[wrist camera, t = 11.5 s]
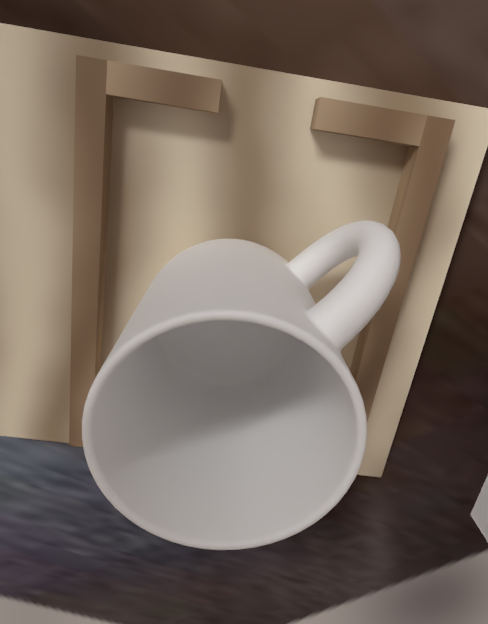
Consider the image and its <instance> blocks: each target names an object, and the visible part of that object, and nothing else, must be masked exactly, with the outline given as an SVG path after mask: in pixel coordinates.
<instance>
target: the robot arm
mask: <svg viewBox="0 0 488 624" xmlns="http://www.w3.org/2000/svg"><path fill="white" fill-rule="evenodd" d="M470 515H471V517H472V518H473V520H474V521H475V523H476V524H477V526H478V528H479V529H480V531H481V532H482V534H483V535H484V537H485V539H486V540H487V542H488V476H487V478H486V480H485V482H484V485H483V487H482V489H481V492H480V494H479V496H478V498H477V501H476V503H475V505H474V507H473V510H472V512H471V514H470Z"/></svg>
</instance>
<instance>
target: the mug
mask: <svg viewBox="0 0 488 624" xmlns="http://www.w3.org/2000/svg"><path fill="white" fill-rule="evenodd" d="M355 256H358V257H357V259H356V261H355V263H354V264H353V266H352V267H351V269H350V270H349V272H348V273H347V274H346V275H345V277H344V278H343V279H342V280H341V281H340V282H339V283H338V284H337V285H336V287H335V288H334V289H333V290H331V291H330V292H329V293H328V294H327V295H326V296H325V297H324V298H323V299H321V300H320V301H319V302H318V303H317V304H316V303H315V301H314V299H313V298H312V296H311V294H310V292H309V289H310V288H311V287H312V286H313V285H314V284H315V283H316V282H317V281H318V280H320V279H321V278H322V277H323V276H324V275H326V274H327V273H328V272H329V271H331V270H332V269H333V268H335V267H336V266H338V265H339V264H341V263H342V262H344V261H346V260H348V259H350V258H352V257H355ZM400 261H401V254H400V245H399V242H398V240H397V238H396V237H395V235H394V233H393V231H392V230H390V229H389V228H388V227H386V226H385V225H384V224H382V223H379V222H375V221H370V220H362V221H358V222H353V223H349V224H346V225H343V226H341V227H339V228H337V229H335V230H333V231H331V232H329V233H328V234H326V235H324V236H323V237H321V238H320V239H318V240H317V241H316V242H314V243H313V244H311V245H310V246H309V247H307V248H306V249H305V250H304V251H302V252H301V253H300V254H299V255H297V256H296V257H295V258H294V259H292V260H291V261H290V262H288V261H287V260H285V259H284V258H283V257H281V256H280V255H278V254H277V253H276V252H274V251H272V250H270V249H268V248H267V247H265V246H262V245H260V244H257V243H254V242H250V241H247V240H241V239H216V240H210V241H206V242H202V243H199V244H197V245H194V246H192V247H190V248H187V249H186V250H184V251H182V252H181V253H179V254H178V255H176V256H175V257H174V258H172V259H171V260H170V261H169V262H168V263H167V264H166V265H165V266H164V267H163V268H162V269H161V270H160V271H159V273H158V274H157V276H156V277H155V278H154V280H153V281H152V283H151V284H150V286H149V288H148V289H147V291H146V293H145V294H144V296H143V298H142V299H141V301H140V303H139V305H138V306H137V308H136V310H135V311H134V313H133V315H132V316H131V318H130V320H129V322H128V323H127V325H126V327H125V328H124V330H123V332H122V333H121V335H120V337H119V339H118V340H117V342H116V344H115V345H114V347H113V349H112V350H111V352H110V354H109V355H108V357H107V359H106V361H105V362H104V364H103V366H102V367H101V369H100V371H99V372H98V374H97V376H96V378H95V380H94V382H93V384H92V386H91V388H90V390H89V393H88V396H87V399H86V402H85V405H84V411H83V418H82V441H83V447H84V454H85V457H86V460H87V463H88V467H89V470H90V472H91V474H92V476H93V478H94V480H95V482H96V484H97V485H98V487H99V488H100V490H101V491H102V492H103V494H104V495H105V497H106V498H107V499H108V500H109V501H110V502H111V503H112V505H113V506H114V507H115V508H116V509H117V510H118V511H120V512H121V513H122V514H123V515H124V516H125V517H126V518H128V519H129V520H130V521H132V522H133V523H135V524H136V525H138V526H139V527H141V528H143V529H144V530H146V531H148V532H150V533H152V534H154V535H156V536H158V537H161V538H163V539H166V540H168V541H171V542H175V543H178V544H182V545H185V546H190V547H196V548H201V549H212V550H238V549H246V548H254V547H258V546H263V545H267V544H271V543H274V542H277V541H280V540H283V539H286V538H288V537H290V536H292V535H294V534H297V533H299V532H301V531H302V530H304V529H306V528H307V527H309V526H311V525H313V524H314V523H315V522H317V521H318V520H319V519H321V518H322V517H323V516H325V515H326V514H327V513H328V512H329V511H330V510H331V509H332V508H333V507H334V506H335V505H336V504H337V503H338V502H339V501H340V500H341V498H342V497H343V496H344V495H345V493H346V492H347V491H348V489H349V488H350V486H351V484H352V483H353V481H354V479H355V478H356V475H357V473H358V471H359V468H360V466H361V463H362V459H363V456H364V452H365V447H366V438H367V417H366V412H365V407H364V402H363V399H362V396H361V394H360V391H359V388H358V386H357V384H356V382H355V380H354V378H353V376H352V374H351V372H350V370H349V368H348V366H347V364H346V363H345V361H344V359H343V357H342V355H341V350H342V348H343V347H345V346H346V345H347V344H348V343H349V342H350V341H351V340H352V339H353V338H354V337H355V336H356V335H357V334H358V333H359V332H360V331H361V330H362V329H363V328H364V327H365V326H366V325H367V324H368V323H369V321H370V320H371V319H372V318H373V316H374V315H375V314H376V313H377V311H378V310H379V309H380V307H381V306H382V304H383V303H384V301H385V300H386V298H387V296H388V294H389V292H390V290H391V289H392V287H393V285H394V283H395V281H396V278H397V275H398V272H399V268H400Z"/></svg>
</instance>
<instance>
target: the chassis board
mask: <svg viewBox="0 0 488 624" xmlns="http://www.w3.org/2000/svg"><path fill="white" fill-rule="evenodd" d="M487 146H488V108H483V107H477V106H472V105H466V104H460V103H454V102H449V101H443V100H437V99H432V98H426V97H420V96H414V95H409V94H403V93H397V92H392V91H386V90H380V89H374V88H369V87H363V86H357V85H352V84H346V83H340V82H335V81H329V80H323V79H317V78H312V77H306V76H300V75H295V74H289V73H283V72H277V71H272V70H266V69H260V68H255V67H249V66H243V65H237V64H232V63H226V62H220V61H215V60H209V59H203V58H197V57H192V56H186V55H180V54H175V53H169V52H163V51H157V50H152V49H146V48H140V47H135V46H129V45H123V44H117V43H112V42H106V41H100V40H95V39H89V38H83V37H77V36H72V35H66V34H60V33H55V32H49V31H43V30H37V29H32V28H26V27H20V26H15V25H9V24H3V23H0V436H9V437H18V438H27V439H36V440H45V441H55V442H64V443H69V446H76V447H83V441H82V418H83V411H84V405H85V402H86V399H87V396H88V393H89V390H90V388H91V386H92V384H93V382H94V380H95V378H96V376H97V374H98V372H99V371H100V369H101V367H102V366H103V364H104V362H105V361H106V359H107V357H108V355H109V354H110V352H111V350H112V349H113V347H114V345H115V344H116V342H117V340H118V339H119V337H120V335H121V333H122V332H123V330H124V328H125V327H126V325H127V323H128V322H129V320H130V318H131V316H132V315H133V313H134V311H135V310H136V308H137V306H138V305H139V303H140V301H141V299H142V298H143V296H144V294H145V293H146V291H147V289H148V288H149V286H150V284H151V283H152V281H153V280H154V278H155V277H156V276H157V274H158V273H159V271H160V270H161V269H162V268H163V267H164V266H165V265H166V264H167V263H168V262H169V261H170V260H171V259H172V258H174V257H175V256H176V255H178V254H179V253H181V252H182V251H184V250H186V249H187V248H190V247H192V246H194V245H197V244H199V243H202V242H206V241H210V240H216V239H241V240H247V241H250V242H254V243H257V244H260V245H262V246H265V247H267V248H268V249H270V250H272V251H274V252H276V253H277V254H278V255H280V256H281V257H283V258H284V259H285V260H287V261H288V262H290V261H291V260H292V259H294V258H295V257H296V256H297V255H299V254H300V253H301V252H302V251H304V250H305V249H306V248H307V247H309V246H310V245H311V244H313V243H314V242H316V241H317V240H318V239H320V238H321V237H323V236H324V235H326V234H328V233H329V232H331V231H333V230H335V229H337V228H339V227H341V226H343V225H346V224H349V223H353V222H358V221H362V220H370V221H375V222H379V223H382V224H384V225H385V226H386V227H388V228H389V229H390V230H392V231H393V233H394V235H395V237H396V238H397V240H398V242H399V245H400V254H401V261H400V268H399V272H398V275H397V278H396V281H395V283H394V285H393V287H392V289H391V290H390V292H389V294H388V296H387V298H386V300H385V301H384V303H383V304H382V306H381V307H380V309H379V310H378V311H377V313H376V314H375V315H374V316H373V318H372V319H371V320H370V321H369V323H368V324H367V325H366V326H365V327H364V328H363V329H362V330H361V331H360V332H359V333H358V334H357V335H356V336H355V337H354V338H353V339H352V340H351V341H350V342H349V343H348V344H347V345H346V346H345V347H343V348H342V350H341V355H342V357H343V359H344V361H345V363H346V364H347V366H348V368H349V370H350V372H351V374H352V376H353V378H354V380H355V382H356V384H357V386H358V388H359V391H360V394H361V396H362V399H363V402H364V407H365V412H366V417H367V438H366V447H365V452H364V456H363V459H362V463H361V466H360V468H359V471H358V473H357V475H364V476H373V477H381V476H382V473H383V470H384V467H385V464H386V461H387V458H388V454H389V451H390V448H391V445H392V442H393V439H394V436H395V433H396V430H397V426H398V423H399V420H400V417H401V414H402V411H403V408H404V405H405V401H406V398H407V395H408V392H409V389H410V386H411V383H412V380H413V377H414V373H415V370H416V367H417V364H418V361H419V358H420V355H421V352H422V349H423V345H424V342H425V339H426V336H427V333H428V330H429V327H430V324H431V321H432V317H433V314H434V311H435V308H436V305H437V302H438V299H439V296H440V293H441V289H442V286H443V283H444V280H445V277H446V274H447V271H448V268H449V265H450V261H451V258H452V255H453V252H454V249H455V246H456V243H457V240H458V237H459V233H460V230H461V227H462V224H463V221H464V218H465V215H466V212H467V209H468V205H469V202H470V199H471V196H472V193H473V190H474V187H475V184H476V181H477V177H478V174H479V171H480V168H481V165H482V162H483V159H484V156H485V153H486V149H487ZM357 257H358V256H355V257H352V258H350V259H348V260H346V261H344V262H342V263H341V264H339V265H338V266H336V267H335V268H333V269H332V270H331V271H329V272H328V273H327V274H326V275H324V276H323V277H322V278H321V279H320V280H318V281H317V282H316V283H315V284H314V285H313V286H312V287H311V288H310V289H309V292H310V294H311V296H312V298H313V299H314V301H315V303H316V304H317V303H318V302H319V301H320V300H321V299H323V298H324V297H325V296H326V295H327V294H328V293H329V292H330V291H331V290H333V289H334V288H335V287H336V285H337V284H338V283H339V282H340V281H341V280H342V279H343V278H344V277H345V275H346V274H347V273H348V272H349V270H350V269H351V267H352V266H353V264H354V263H355V261H356V259H357Z"/></svg>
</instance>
